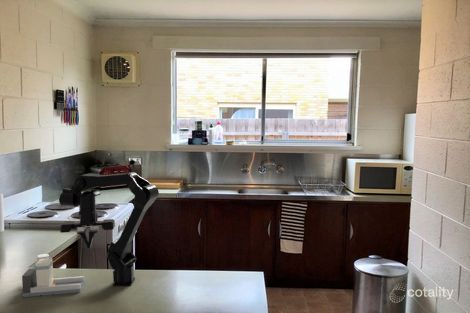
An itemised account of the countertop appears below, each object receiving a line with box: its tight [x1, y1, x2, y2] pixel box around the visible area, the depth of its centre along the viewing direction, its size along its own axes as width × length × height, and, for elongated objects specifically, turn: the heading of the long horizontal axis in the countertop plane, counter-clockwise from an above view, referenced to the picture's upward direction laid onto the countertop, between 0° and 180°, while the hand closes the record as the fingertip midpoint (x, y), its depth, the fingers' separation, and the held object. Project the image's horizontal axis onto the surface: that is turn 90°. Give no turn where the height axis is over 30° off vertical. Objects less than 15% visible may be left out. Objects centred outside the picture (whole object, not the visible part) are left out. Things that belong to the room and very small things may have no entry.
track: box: [21, 267, 85, 298], centre depth 136 cm, size 18×8×7 cm, turn 101°
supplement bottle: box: [34, 253, 50, 268], centre depth 144 cm, size 5×5×10 cm
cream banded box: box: [35, 257, 54, 287], centre depth 135 cm, size 4×5×9 cm
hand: (89, 247), depth 145 cm, fingers closed
